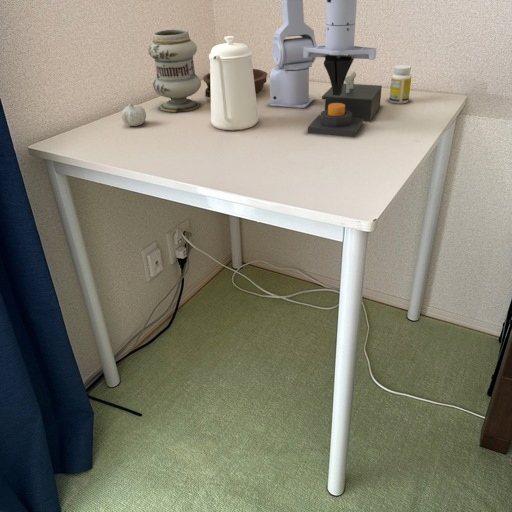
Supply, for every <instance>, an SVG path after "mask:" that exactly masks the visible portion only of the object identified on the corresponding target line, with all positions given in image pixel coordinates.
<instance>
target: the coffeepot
mask: <svg viewBox="0 0 512 512" xmlns="http://www.w3.org/2000/svg"><path fill="white" fill-rule="evenodd" d="M223 38H224V41H225V42H226V43H219V44H216V45H214V46H213V47H212V48H211V50H210V53H209V54H208V59H209V67H210V68H209V73H210V86H211V98H210V122H211V125H212V126H213V127H214V128H216V129H219V130H223V131H242V130H247V129H249V128H252V127H254V126H256V124H258V122H259V111H258V105H257V103H258V101H257V94H256V93H255V84H254V75H253V69H254V68H253V59H252V57H253V51H251V50H250V48H249V46H248V45H247V44H245V43H242V42H234V40H235V36H234V35H226V36H224V37H223Z"/></svg>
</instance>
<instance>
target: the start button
mask: <svg viewBox="0 0 512 512" xmlns="http://www.w3.org/2000/svg"><path fill="white" fill-rule="evenodd" d="M328 115H330V116H342V115H345V104H342V103H331V104H329V105H328Z"/></svg>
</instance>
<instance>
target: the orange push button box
mask: <svg viewBox="0 0 512 512" xmlns="http://www.w3.org/2000/svg"><path fill="white" fill-rule="evenodd" d="M363 122H364V121H363V118H356V117H352V113H351V112H350V111H348V110H345V115H342V116H330V115H328V110H325V109H324V110H322V111H321V112H320V114H318V116H316V118H315V119H314V120H313V121H312V122H311V123H310V124H309V125H308V126H307V134H312V135H323V136H336V137H346V138H355V136H356V135H357V134H358V132H359V131H360V129H361V127H362V126H363Z"/></svg>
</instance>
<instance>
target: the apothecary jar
mask: <svg viewBox="0 0 512 512" xmlns="http://www.w3.org/2000/svg"><path fill="white" fill-rule="evenodd" d="M197 52H198V47H197V44H196V42H195V41H194V40H193V39H191V37H190V35H189V31H188V30H186V29H182V28H179V29H176V28H174V29H163V30H159V31H156V32H153V34H152V42H151V43H150V45H149V46H148V55H149V56H150V57H151V59H153V60H154V65H155V72H156V78H155V79H154V80H153V83H152V88H153V90H154V92H155V93H156V94H158V95H159V96H161V97H164V98H168V99H169V100H168V101H166V102H163V103H162V104H161V105H160V110H162V111H164V112H167V113H180V112H188V111H193V110H195V109H197V108H199V103H198V102H197V101H196V100H194V99H193V100H192V99H190V98H188V97H191V96H193V95H195V94H196V93H197V92H198V91H199V89H200V88H201V86H202V81H201V79H200V77H199V76H198V75H197V74H196V70H195V64H194V63H195V62H194V56H195V55H196V54H197Z"/></svg>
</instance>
